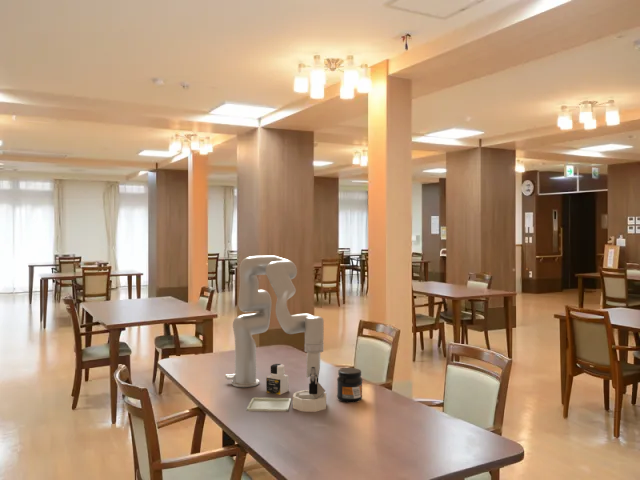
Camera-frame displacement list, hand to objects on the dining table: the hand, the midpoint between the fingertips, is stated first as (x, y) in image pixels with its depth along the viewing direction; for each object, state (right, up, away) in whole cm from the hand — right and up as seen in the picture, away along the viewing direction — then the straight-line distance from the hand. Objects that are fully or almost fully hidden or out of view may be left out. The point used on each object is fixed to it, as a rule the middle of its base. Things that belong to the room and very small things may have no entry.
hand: (313, 390), depth 218 cm
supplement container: (+15, -7, +9) cm, 19 cm away
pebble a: (-3, -5, -3) cm, 7 cm away
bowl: (-2, -6, -1) cm, 7 cm away
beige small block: (0, -2, -1) cm, 2 cm away
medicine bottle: (-16, -6, +18) cm, 25 cm away
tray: (-18, -6, -1) cm, 19 cm away
